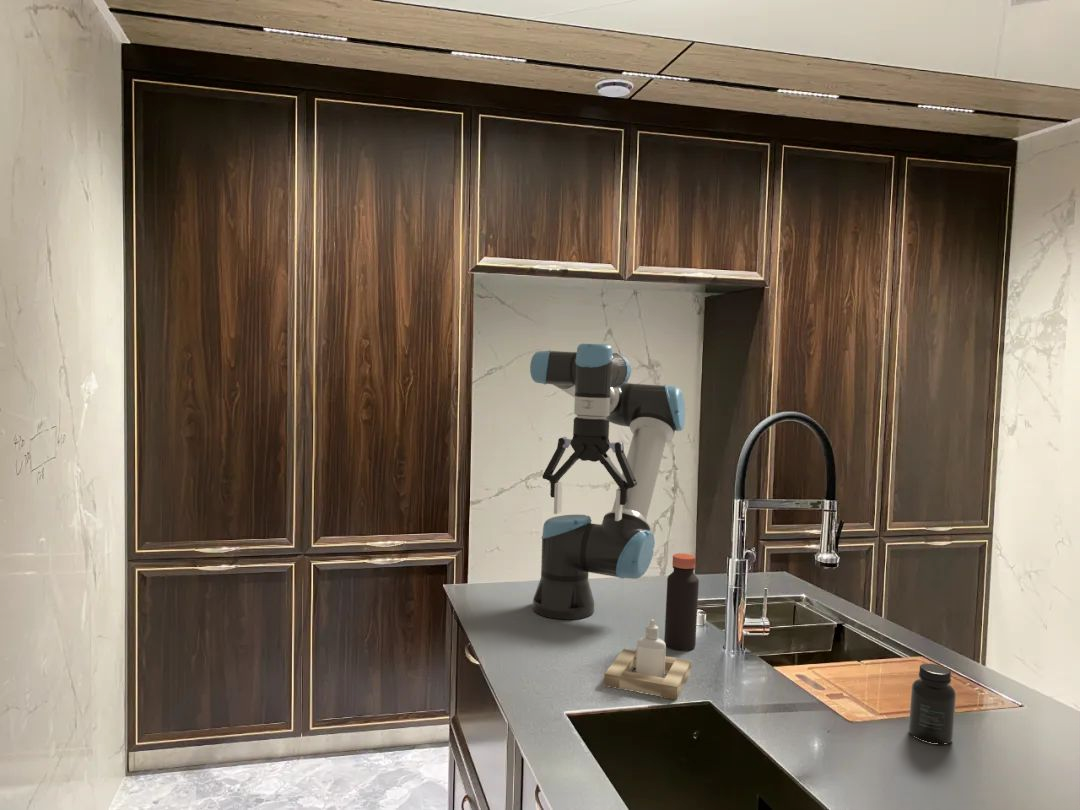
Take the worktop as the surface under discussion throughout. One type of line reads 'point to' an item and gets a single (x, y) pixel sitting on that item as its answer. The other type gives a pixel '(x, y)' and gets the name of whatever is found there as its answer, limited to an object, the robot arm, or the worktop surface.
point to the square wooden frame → (648, 676)
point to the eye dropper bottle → (651, 653)
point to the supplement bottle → (932, 705)
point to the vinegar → (681, 604)
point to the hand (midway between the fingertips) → (587, 516)
